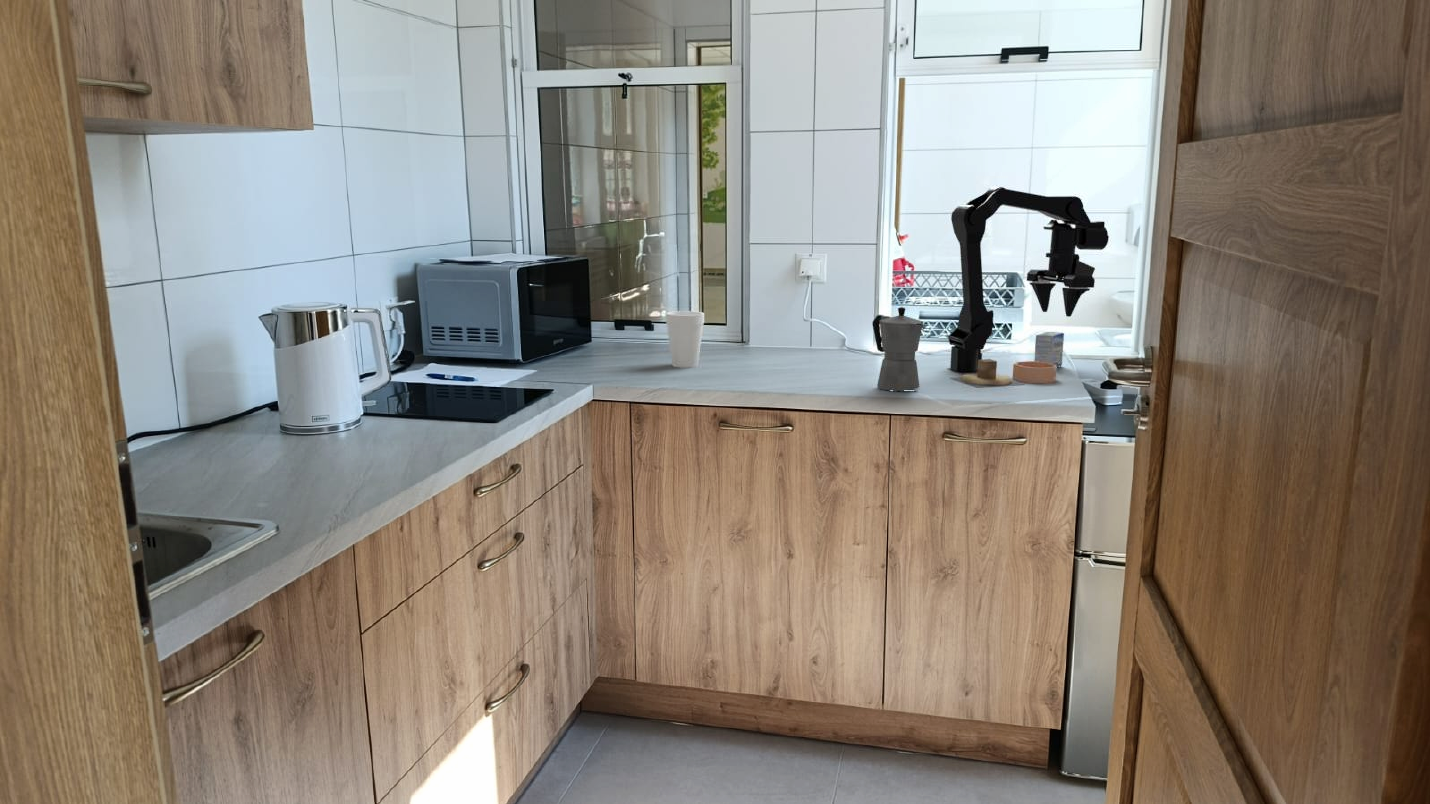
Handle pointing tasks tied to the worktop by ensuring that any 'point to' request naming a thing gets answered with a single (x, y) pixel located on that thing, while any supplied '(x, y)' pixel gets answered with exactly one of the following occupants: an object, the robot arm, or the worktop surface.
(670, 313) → the foam cup
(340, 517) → the worktop surface
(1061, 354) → the medicine box
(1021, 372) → the bowl
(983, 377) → the lid
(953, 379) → the mat
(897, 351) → the coffeepot
